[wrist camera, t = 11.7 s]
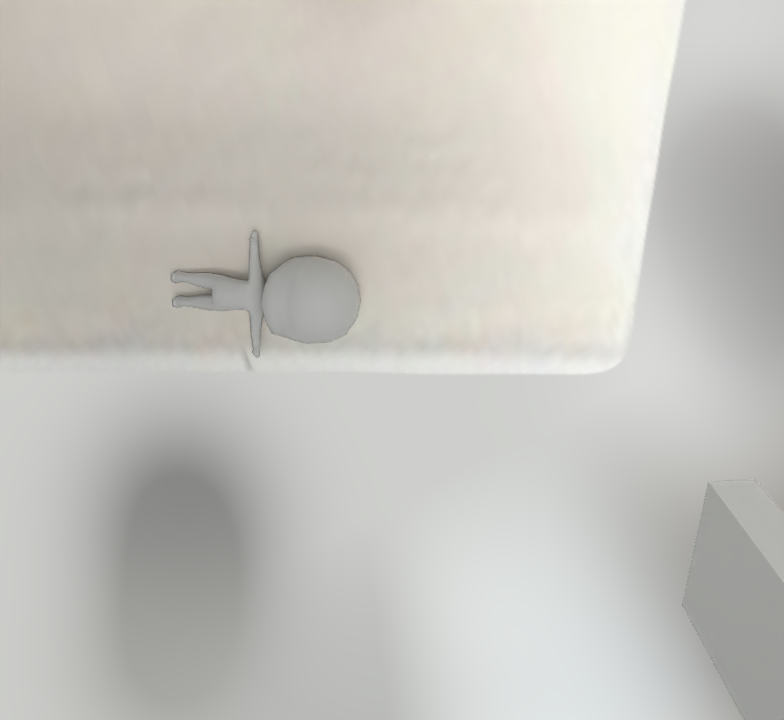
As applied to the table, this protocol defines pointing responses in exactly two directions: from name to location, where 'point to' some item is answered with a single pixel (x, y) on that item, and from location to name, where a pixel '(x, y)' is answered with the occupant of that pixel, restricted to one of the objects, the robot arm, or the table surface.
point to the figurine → (283, 297)
